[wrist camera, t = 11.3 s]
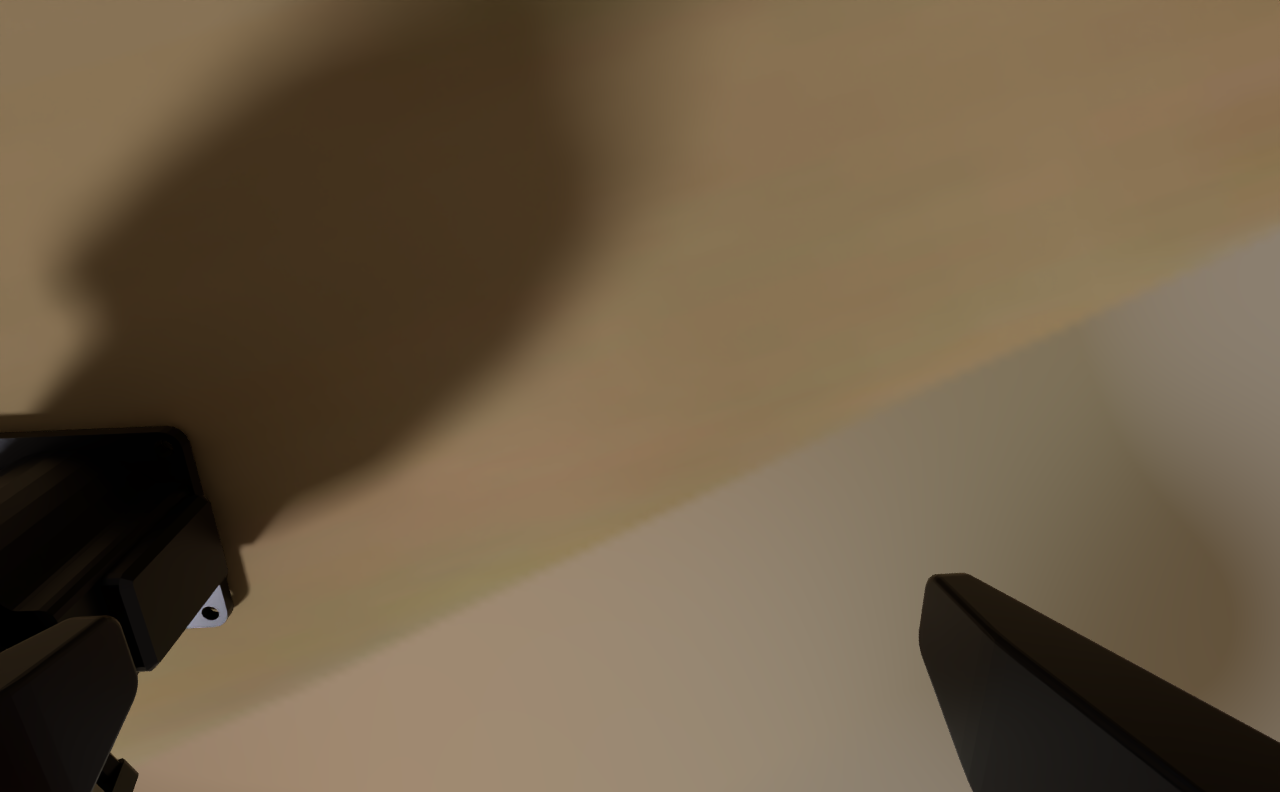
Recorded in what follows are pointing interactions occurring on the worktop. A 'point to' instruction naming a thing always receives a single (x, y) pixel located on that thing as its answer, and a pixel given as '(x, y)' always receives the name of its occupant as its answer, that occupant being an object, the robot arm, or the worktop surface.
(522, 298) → the worktop surface
